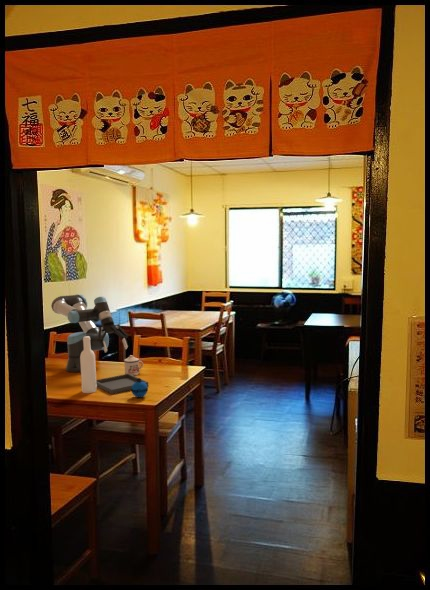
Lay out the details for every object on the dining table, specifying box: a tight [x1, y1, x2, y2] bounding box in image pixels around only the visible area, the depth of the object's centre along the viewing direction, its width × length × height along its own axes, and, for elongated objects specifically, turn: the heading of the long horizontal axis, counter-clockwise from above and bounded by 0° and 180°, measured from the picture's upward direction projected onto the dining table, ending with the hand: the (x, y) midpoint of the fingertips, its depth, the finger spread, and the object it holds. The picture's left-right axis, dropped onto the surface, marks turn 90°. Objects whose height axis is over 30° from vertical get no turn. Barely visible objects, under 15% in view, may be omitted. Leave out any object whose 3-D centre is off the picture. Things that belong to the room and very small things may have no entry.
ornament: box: [130, 377, 149, 398], centre depth 259 cm, size 9×9×10 cm
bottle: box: [80, 336, 98, 394], centre depth 270 cm, size 8×8×30 cm
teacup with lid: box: [123, 354, 144, 377], centre depth 305 cm, size 12×9×12 cm
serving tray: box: [96, 373, 149, 395], centre depth 281 cm, size 24×22×2 cm
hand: (116, 349), depth 303 cm, fingers open, 13 cm apart
